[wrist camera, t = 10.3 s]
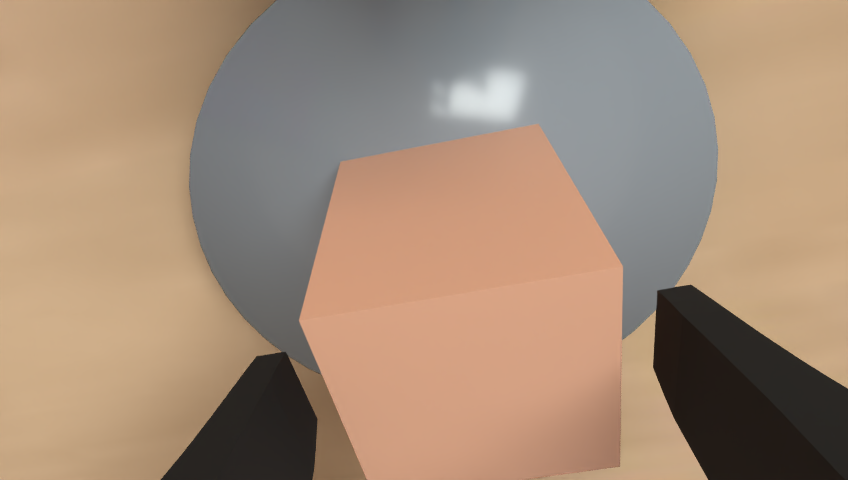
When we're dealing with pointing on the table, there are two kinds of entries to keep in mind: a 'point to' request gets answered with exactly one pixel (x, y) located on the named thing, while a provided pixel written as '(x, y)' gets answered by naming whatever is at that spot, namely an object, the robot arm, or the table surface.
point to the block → (468, 313)
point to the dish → (447, 129)
